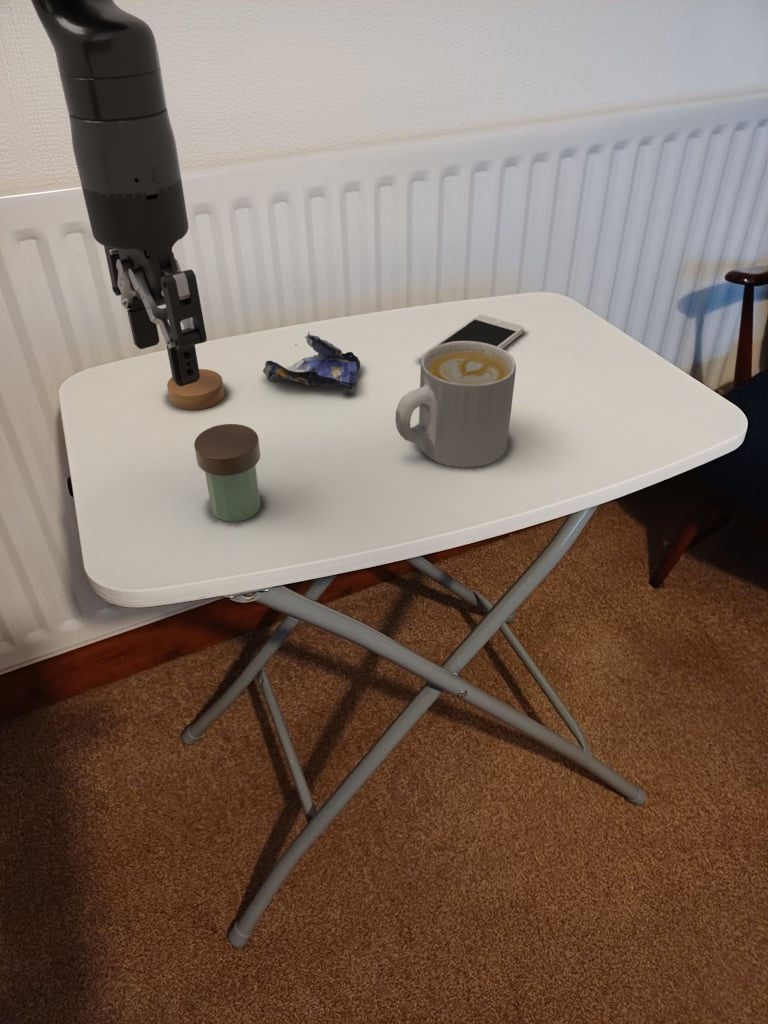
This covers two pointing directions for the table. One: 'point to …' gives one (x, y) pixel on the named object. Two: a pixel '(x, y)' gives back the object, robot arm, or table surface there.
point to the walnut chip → (227, 449)
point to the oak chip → (197, 391)
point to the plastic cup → (234, 495)
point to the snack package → (319, 366)
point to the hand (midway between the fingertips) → (166, 363)
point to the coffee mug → (461, 404)
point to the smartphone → (486, 332)
